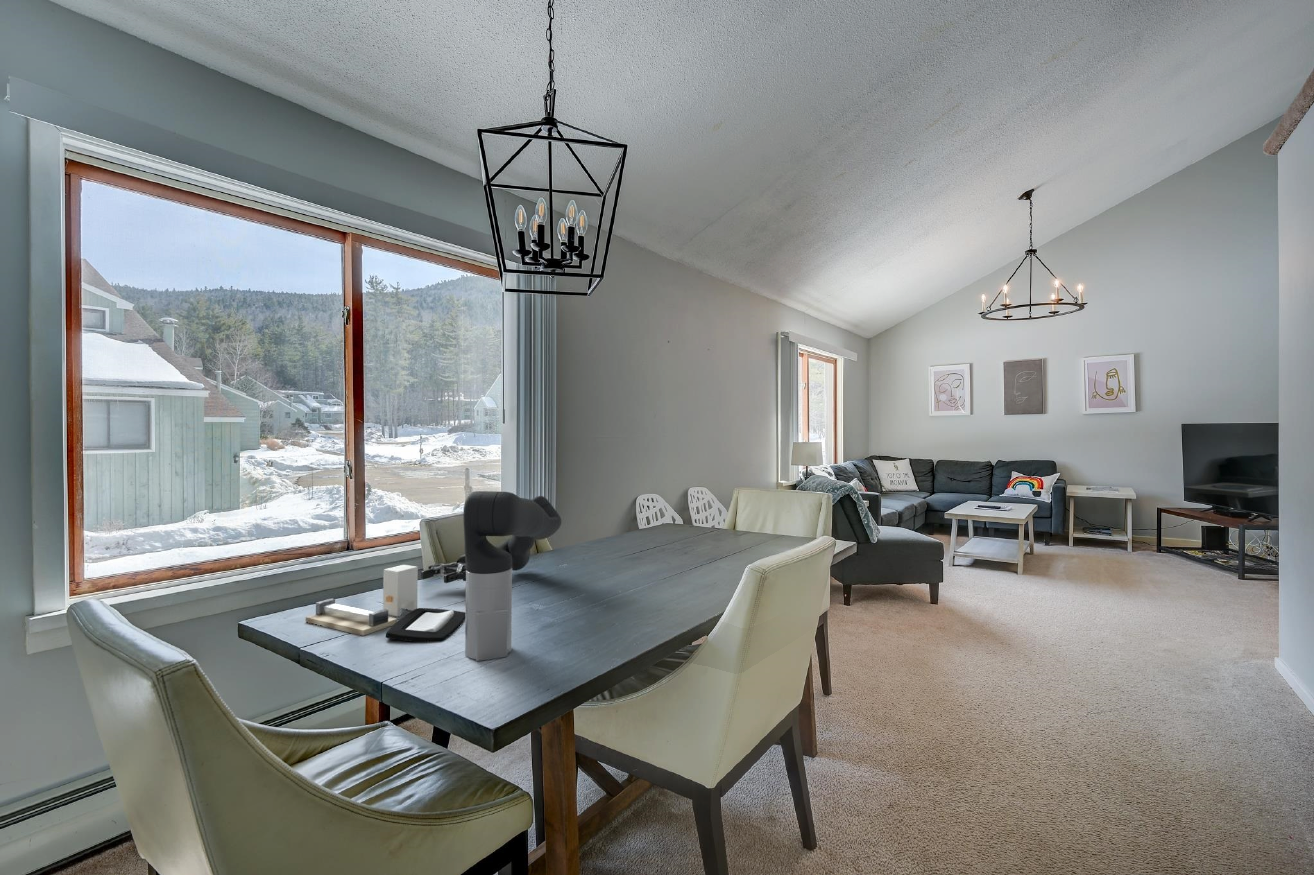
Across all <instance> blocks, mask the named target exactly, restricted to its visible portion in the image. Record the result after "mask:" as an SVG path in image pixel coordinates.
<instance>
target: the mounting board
mask: <svg viewBox="0 0 1314 875" xmlns="http://www.w3.org/2000/svg"><path fill="white" fill-rule="evenodd" d="M397 621H398V618H395V617H390V616H388V622H386V623H383V624H380V625H377V626H374V627H371V626H369V624H365V623H360V622H356V621H351V620H347V619H342V618H337V617H333V616H328V615H324V614H322V615H317V614H316V613H315V614H312V615H308V616H305V623H307V622H308V624H311V623H314V624H313V625H315V624H317V625H316V626H320V625H322V626H321V627H324V628H328V627H329V629H333V630H337V631H342V632H346V633H350V634H354V635H360V636H363V637H364V636H366V635H369V634H372V633H375V632H378V631H381V630H383V629H386V628H389V627H392V626H393V625H394V624H395V623H396V622H397Z"/></svg>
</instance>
